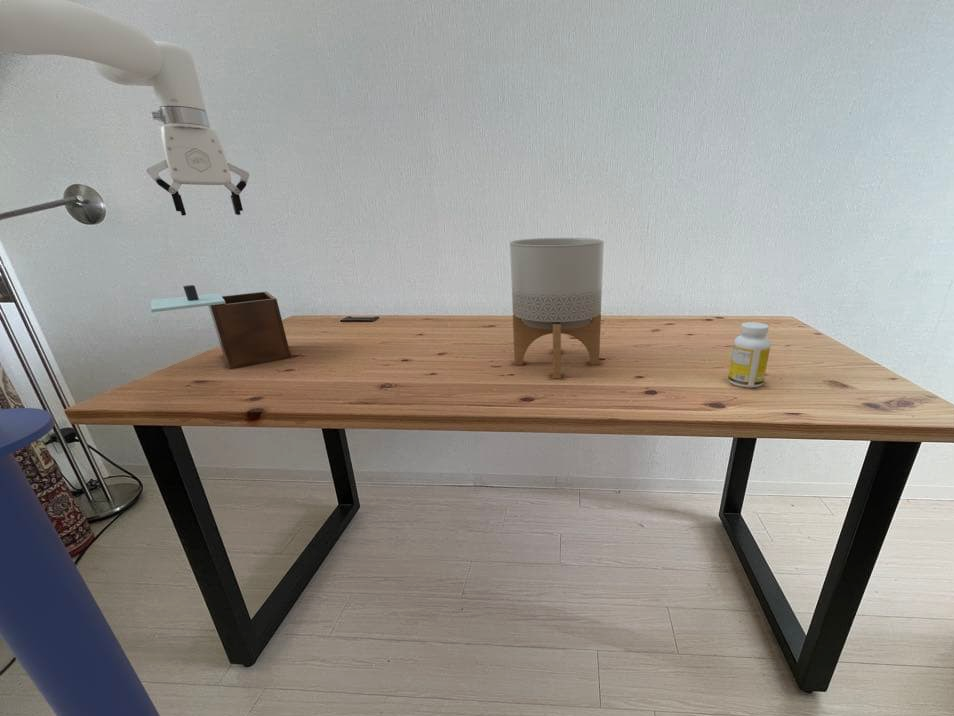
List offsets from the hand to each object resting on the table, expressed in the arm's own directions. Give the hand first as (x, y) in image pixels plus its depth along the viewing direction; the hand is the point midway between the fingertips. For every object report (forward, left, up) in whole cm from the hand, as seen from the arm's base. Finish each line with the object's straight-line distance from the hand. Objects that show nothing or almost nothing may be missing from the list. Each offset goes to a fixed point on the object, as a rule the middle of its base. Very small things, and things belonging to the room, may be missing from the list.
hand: (211, 215), depth 97 cm
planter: (+53, -51, -32) cm, 80 cm away
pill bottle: (+74, -84, -32) cm, 116 cm away
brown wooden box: (+1, 0, -32) cm, 32 cm away
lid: (-9, 0, -17) cm, 20 cm away
